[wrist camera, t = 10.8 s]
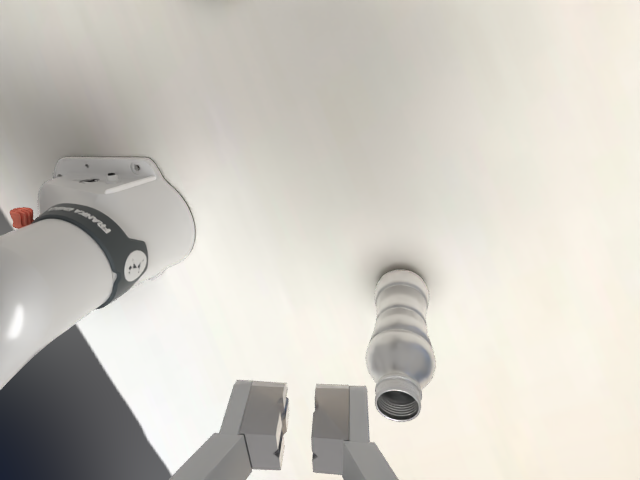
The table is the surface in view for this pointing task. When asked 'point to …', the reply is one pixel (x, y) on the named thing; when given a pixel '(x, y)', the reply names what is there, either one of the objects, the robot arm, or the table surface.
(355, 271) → the table surface
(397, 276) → the plastic bottle
